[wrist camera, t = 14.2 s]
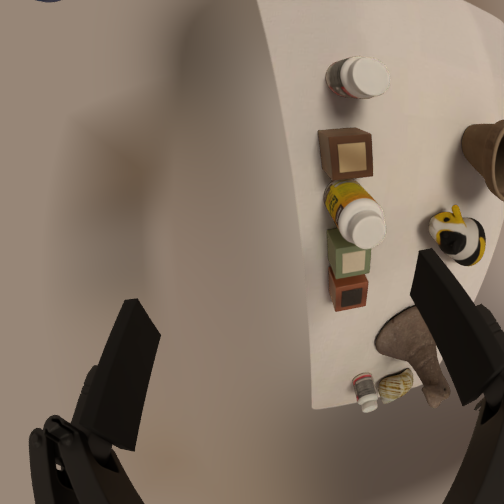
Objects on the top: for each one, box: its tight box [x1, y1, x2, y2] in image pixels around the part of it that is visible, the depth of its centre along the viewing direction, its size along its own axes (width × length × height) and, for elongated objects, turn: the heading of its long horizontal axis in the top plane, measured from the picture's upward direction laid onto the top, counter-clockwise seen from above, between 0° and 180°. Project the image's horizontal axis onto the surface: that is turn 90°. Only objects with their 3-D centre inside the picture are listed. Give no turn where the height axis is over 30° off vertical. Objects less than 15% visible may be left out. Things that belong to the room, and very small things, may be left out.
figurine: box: [429, 205, 486, 266], centre depth 33 cm, size 8×15×8 cm, turn 72°
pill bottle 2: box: [353, 373, 378, 412], centre depth 57 cm, size 5×5×10 cm
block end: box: [328, 267, 368, 312], centre depth 40 cm, size 5×5×5 cm
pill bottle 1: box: [326, 56, 390, 99], centre depth 22 cm, size 5×5×8 cm
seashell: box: [378, 369, 413, 404], centre depth 60 cm, size 10×10×10 cm
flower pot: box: [462, 120, 504, 201], centre depth 24 cm, size 12×11×10 cm
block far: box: [327, 228, 371, 279], centre depth 36 cm, size 5×5×5 cm
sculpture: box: [376, 306, 450, 408], centre depth 42 cm, size 17×17×20 cm
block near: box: [318, 128, 373, 181], centre depth 29 cm, size 5×5×5 cm
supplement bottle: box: [324, 179, 386, 249], centre depth 30 cm, size 6×6×10 cm
